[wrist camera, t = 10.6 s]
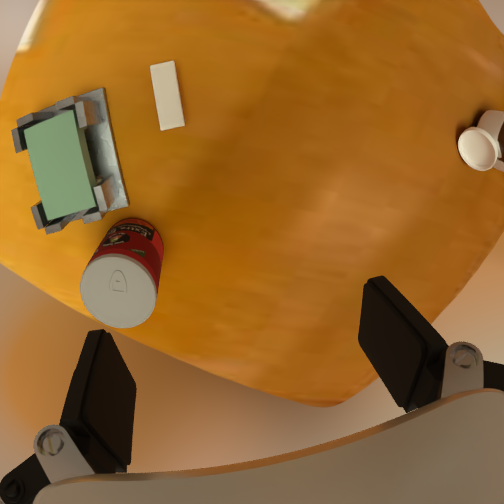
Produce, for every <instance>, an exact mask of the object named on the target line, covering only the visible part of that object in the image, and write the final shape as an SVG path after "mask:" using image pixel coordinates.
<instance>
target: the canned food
mask: <svg viewBox="0 0 504 504" xmlns="http://www.w3.org/2000/svg"><path fill="white" fill-rule="evenodd" d="M162 260H163V244H162V240H161V238H160V236H159V234H158V233H157V231H156V230H155V229H154V228H153V227H152V226H151V225H150V224H148V223H147V222H145V221H142V220H139V219H127V220H122V221H120V222H118V223H116V224H115V225H114V226H112V227H111V229H110V230H109V231H108V232H107V234H106V236H105V237H104V239H103V240H102V242H101V243H100V245H99V247H98V248H97V250H96V251H95V253H94V255H93V256H92V258H91V259H90V261H89V263H88V265H87V267H86V269H85V271H84V272H83V276H82V278H81V283H80V292H81V297H82V300H83V302H84V305H85V306H86V308H87V309H88V311H89V312H90V313H91V314H92V315H93V316H94V317H95V318H96V319H97V320H99V321H101V322H102V323H104V324H106V325H109V326H112V327H116V328H130V327H134V326H137V325H139V324H141V323H143V322H144V321H145V320H146V319H147V318H149V316H150V315H151V313H152V311H153V309H154V307H155V304H156V299H157V293H158V286H159V279H160V273H161V266H162Z"/></svg>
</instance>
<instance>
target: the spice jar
mask: <svg viewBox="0 0 504 504" xmlns="http://www.w3.org/2000/svg"><path fill="white" fill-rule="evenodd" d="M458 149H459V152H460V155H461V157H462V158H463V160H464V161H465V162H466V163H467V164H468V165H469V166H471V167H472V168H474V169H476V170H480V171H486V170H489V169H490V168H492V167H494V168H496V169H498V170H500V171H503V172H504V112H503V111H497V110H488V111H486V112H484V113H483V114H482V115H481V116H480V118H479V119H478V121H477V123H476V125H475V127H470V128H468V129H466V130H465V131H464V132H463V133H462V134H461V136H460V137H459V140H458Z"/></svg>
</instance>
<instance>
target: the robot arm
mask: <svg viewBox="0 0 504 504" xmlns="http://www.w3.org/2000/svg"><path fill="white" fill-rule="evenodd" d="M358 341H359V344H360V346H361V348H362V349H363V351H364V353H365V354H366V356H367V357H368V359H369V360H370V362H371V364H372V365H373V367H374V368H375V370H376V371H377V373H378V375H379V376H380V378H381V379H382V381H383V382H384V384H385V386H386V387H387V389H388V391H389V392H390V394H391V395H392V397H393V399H394V400H395V402H396V404H397V405H398V406H399V407H403V408H404V410H405V412H406V413H407V414H405V415H402V416H400V417H397V418H395V419H392V420H390V421H387V422H385V423H382V424H380V425H377V426H375V427H372V428H369V429H366V430H363V431H361V432H358V433H355V434H352V435H349V436H346V437H343V438H340V439H337V440H333V441H330V442H327V443H324V444H320V445H317V446H313V447H310V448H306V449H302V450H298V451H295V452H290V453H286V454H282V455H278V456H273V457H269V458H264V459H259V460H253V461H248V462H243V463H237V464H231V465H224V466H217V467H210V468H201V469H192V470H181V471H168V472H151V473H126V472H127V465H130V463H131V451H132V435H133V422H134V410H135V399H136V383H135V381H134V379H133V377H132V375H131V373H130V372H129V370H128V368H127V366H126V364H125V362H124V360H123V358H122V356H121V354H120V352H119V350H118V348H117V346H116V344H115V342H114V340H113V338H112V335H111V334H110V333H106V331H105V330H104V329H100V330H93V331H89V332H88V334H87V337H86V340H85V343H84V346H83V349H82V352H81V355H80V358H79V361H78V364H77V367H76V369H75V371H74V373H73V376H72V380H71V383H70V387H69V390H68V393H67V397H66V401H65V404H64V408H63V412H62V416H61V419H60V423H59V425H48V426H46V427H44V428H43V429H41V430H40V431H39V432H38V434H37V435H36V437H35V440H34V451H35V453H34V454H33V455H32V456H30V457H29V458H28V459H27V460H25V461H24V462H23V463H22V464H20V465H19V466H17V467H16V468H15V469H13V470H12V471H11V472H9V473H8V474H7V475H6V476H5V477H4V478H3V479H2V480H1V483H0V504H504V365H503V364H498V363H494V362H489V361H484V360H483V356H482V353H481V352H480V350H479V349H478V348H477V347H476V346H474V345H473V344H471V343H467V342H456V343H453V344H451V345H450V346H448V345H447V344H446V341H445V340H444V339H443V338H442V337H441V335H440V334H439V333H438V332H437V331H436V330H435V329H434V328H433V327H432V326H431V324H430V323H429V322H428V321H427V320H426V319H425V318H424V317H423V316H422V315H421V314H420V313H419V312H418V310H417V309H416V308H415V307H414V306H413V305H412V304H411V303H410V302H409V301H408V300H407V299H406V298H405V297H404V296H403V295H402V294H401V293H400V292H399V291H398V290H397V289H396V288H395V287H394V286H393V285H392V284H391V283H390V282H389V281H388V280H387V279H386V278H385V277H384V276H378V277H374V278H370V279H368V281H367V283H366V284H364V288H363V299H362V309H361V318H360V326H359V334H358ZM417 408H418V409H417ZM415 409H416V410H415ZM412 410H415V411H412ZM410 411H412V412H410ZM408 412H409V413H408ZM116 472H118V473H116Z"/></svg>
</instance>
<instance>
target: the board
mask: <svg viewBox="0 0 504 504" xmlns="http://www.w3.org/2000/svg"><path fill="white" fill-rule="evenodd" d="M24 134H25V138H26V143H27V148H28V152H29V156H30V161H31V165H32V169H33V172H34V176H35V180H36V184H37V187H38V191H39V194H40V197H41V201H42V204H43V207H44V210H45V213H46V216H47V219H48V221H49V220H52V219H55V218H58V217H61V216H65V215H68V214H71V213H75V212H78V211H81V210H85V209H88V208H92V207H95V206H97V205H98V202H97V199H96V195H95V192H94V188H93V187H95V186H96V185H97V184H96V180H95V176H94V172H93V168H92V164H91V160H90V156H89V152H88V147H87V143H86V138H85V134H84V129H83V127H82V128H79V123H78V118H77V112H76V110H71V111H68V112H66V113H63V114H61V115H58V116H56V117H53V118H51V119H48V120H46V121H43V122H41V123H39V124H36V125H34V126H32V127H30V128H28V129H25V130H24Z"/></svg>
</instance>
